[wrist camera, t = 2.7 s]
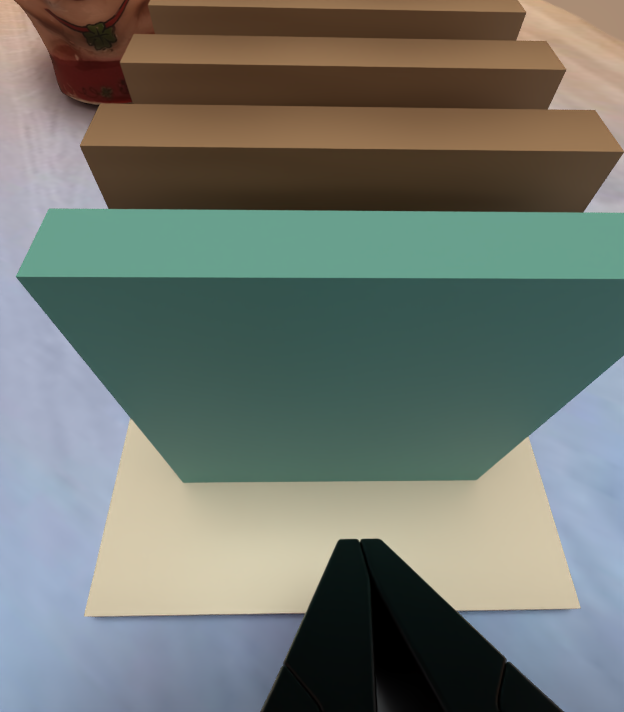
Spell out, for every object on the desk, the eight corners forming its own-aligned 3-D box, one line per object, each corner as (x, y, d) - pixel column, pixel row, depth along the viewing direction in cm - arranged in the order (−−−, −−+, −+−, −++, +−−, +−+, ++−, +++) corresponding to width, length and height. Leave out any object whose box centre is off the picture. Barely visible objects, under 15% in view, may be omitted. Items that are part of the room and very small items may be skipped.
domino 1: (430, 274, 22) (526, 12, 12) (214, 273, 21) (147, 5, 12) (425, 252, 23) (511, -9, 13) (217, 251, 22) (157, -16, 13)
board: (567, 609, 15) (580, 608, 14) (94, 616, 14) (84, 616, 14) (442, 177, 28) (445, 165, 27) (192, 174, 27) (190, 163, 26)
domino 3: (476, 480, 16) (713, 278, 7) (183, 482, 16) (15, 276, 7) (467, 440, 17) (667, 213, 8) (189, 442, 17) (48, 208, 7)
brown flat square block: (442, 330, 20) (566, 69, 11) (205, 330, 20) (119, 62, 10) (437, 303, 21) (546, 41, 11) (209, 303, 20) (133, 34, 11)
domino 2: (458, 397, 18) (623, 151, 9) (195, 398, 18) (79, 145, 8) (450, 365, 19) (595, 110, 10) (200, 365, 19) (100, 103, 9)
